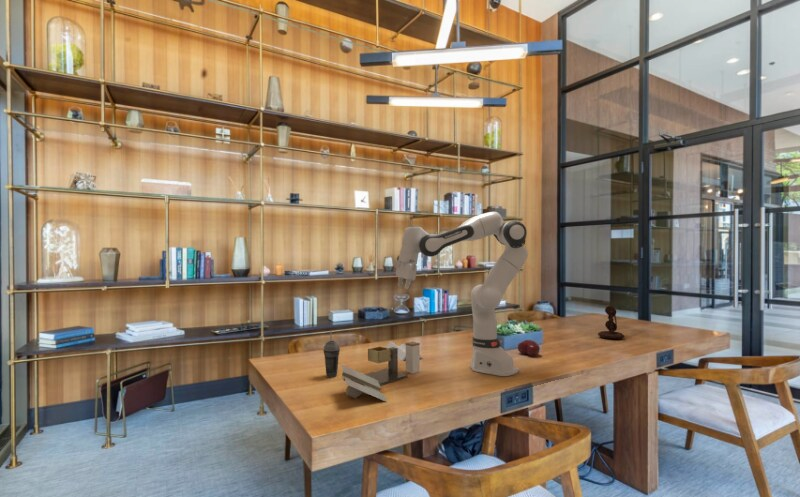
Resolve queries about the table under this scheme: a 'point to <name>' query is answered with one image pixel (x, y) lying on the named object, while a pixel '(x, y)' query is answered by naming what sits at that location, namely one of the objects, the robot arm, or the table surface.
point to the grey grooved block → (361, 384)
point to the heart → (529, 347)
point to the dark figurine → (611, 325)
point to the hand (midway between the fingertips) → (403, 287)
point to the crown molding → (400, 350)
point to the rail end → (412, 357)
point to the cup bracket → (391, 356)
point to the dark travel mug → (331, 358)
